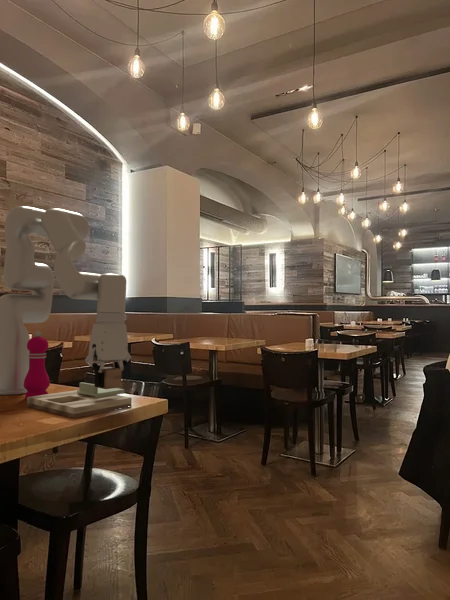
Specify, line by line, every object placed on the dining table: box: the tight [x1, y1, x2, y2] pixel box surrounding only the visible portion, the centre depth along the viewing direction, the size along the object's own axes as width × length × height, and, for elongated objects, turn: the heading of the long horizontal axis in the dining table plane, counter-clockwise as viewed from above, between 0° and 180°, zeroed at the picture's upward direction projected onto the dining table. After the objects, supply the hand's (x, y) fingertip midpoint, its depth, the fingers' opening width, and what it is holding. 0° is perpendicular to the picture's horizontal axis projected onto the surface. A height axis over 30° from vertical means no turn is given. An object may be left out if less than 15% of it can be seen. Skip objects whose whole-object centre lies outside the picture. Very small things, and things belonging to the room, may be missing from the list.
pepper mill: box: [24, 331, 51, 401], centre depth 137 cm, size 7×7×20 cm
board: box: [26, 389, 133, 419], centre depth 125 cm, size 22×18×2 cm
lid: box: [76, 382, 125, 398], centre depth 131 cm, size 9×10×3 cm
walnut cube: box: [94, 366, 123, 389], centre depth 124 cm, size 5×5×5 cm
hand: (107, 385), depth 124 cm, fingers closed on walnut cube, 5 cm apart
